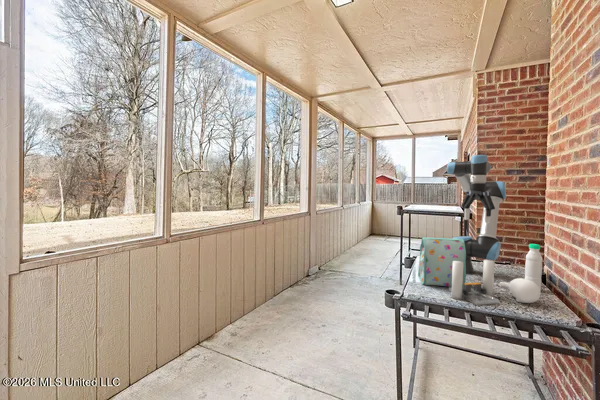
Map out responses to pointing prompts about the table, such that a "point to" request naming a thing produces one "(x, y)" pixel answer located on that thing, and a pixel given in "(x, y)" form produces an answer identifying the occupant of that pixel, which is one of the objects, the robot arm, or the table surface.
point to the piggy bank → (523, 290)
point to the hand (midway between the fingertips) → (476, 221)
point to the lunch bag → (440, 260)
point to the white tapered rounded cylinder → (457, 280)
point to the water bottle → (534, 265)
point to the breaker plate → (478, 297)
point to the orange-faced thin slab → (476, 287)
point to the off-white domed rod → (488, 277)
